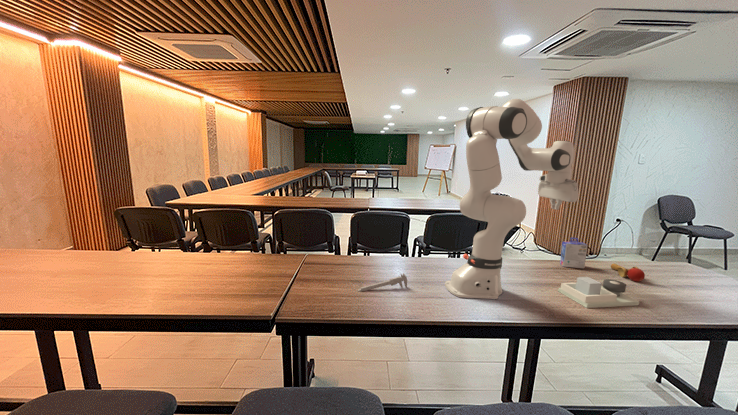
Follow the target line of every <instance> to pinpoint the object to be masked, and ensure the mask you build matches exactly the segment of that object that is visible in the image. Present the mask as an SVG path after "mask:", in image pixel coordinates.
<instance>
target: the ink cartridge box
mask: <svg viewBox="0 0 738 415" xmlns="http://www.w3.org/2000/svg"><path fill="white" fill-rule="evenodd" d="M560 250H561V252H560V260H559V265H561V266H562V267H564V268H565V267H567V268H574V269H575V268H577V269H585V267H586V258H587V252H588V244H586V243H585V242H579V238H578V237H569V241H562V243H561V249H560Z"/></svg>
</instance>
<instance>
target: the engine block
mask: <svg viewBox="0 0 738 415" xmlns="http://www.w3.org/2000/svg"><path fill="white" fill-rule="evenodd" d="M601 286H603V282H600V281H597V280H596V279H594V278H592V277H590V276H578V277H576V290H578V291H579V292H581V293H583V294H585V295H599V294H600V291H601Z"/></svg>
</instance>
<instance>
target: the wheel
mask: <svg viewBox="0 0 738 415" xmlns="http://www.w3.org/2000/svg"><path fill="white" fill-rule="evenodd" d="M602 286H603V288H605V289H607V290H610V291H613V292H619V293H622V294H624V293H626V290H627V289H626V288H627V284H626V283H625V282H622V281H619V280H616V279H608V278H607V279H606V278H605V279H603V282H602Z"/></svg>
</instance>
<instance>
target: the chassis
mask: <svg viewBox="0 0 738 415" xmlns="http://www.w3.org/2000/svg"><path fill="white" fill-rule="evenodd" d="M576 282H577V281H576ZM576 282H561V283H560V287H558V290H557V292H558V293H561V294H562V295H564V296H566V297H567V298H569V299H570V300H573V301H574V302H576V303H577V304H580V305H581V306H583V307H585V309H590V308H591V309H593V308H613V307H614V308H615V307H631V306H639V305H640V300H637V299H635V298H633V297H631V296H628V294H627V295H626V294H624V293H619V292H613V291H610V290H607V289H605V288H603V285H601V291H600V294H599V295H585V294H583V293H581V292H579V291H578V290H576Z"/></svg>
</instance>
